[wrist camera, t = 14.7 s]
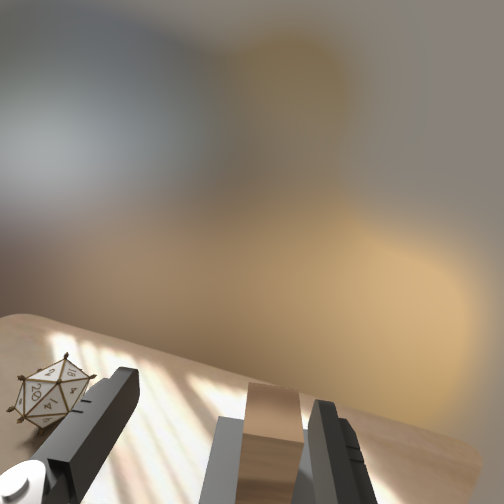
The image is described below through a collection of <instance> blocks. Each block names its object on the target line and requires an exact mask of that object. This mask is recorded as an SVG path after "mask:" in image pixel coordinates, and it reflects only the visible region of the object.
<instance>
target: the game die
mask: <svg viewBox="0 0 504 504" xmlns="http://www.w3.org/2000/svg"><path fill="white" fill-rule="evenodd" d="M68 355H69V354H68V352H67V353H66V354H65V355H64V359H62V360H60V361H58V362H56V363H54V364H52V365H50V366H48V367H46V368H44V369H38V371H37V372H36V373H34V374H32V375H30V376H28V377H26V378H25V377H24V376H23V375H21V376H17V377H18V380H20V381H21V380H23V383H22V386H21V389H20V392H19V395H18V398H17V401H16V404H15V406H14V407H13V406H12V407H9V409H8V410H7V411H6V412H11V411H13V410H14V409H15V410H16V411H17V412H18V413H19V414H20V415H21V416H22V417H21V418H19V419H18V420H17V423H22V421H24V419H26V420H28V421H29V422H31V423H33V424H34V425H36V426H38V427H39V428H41V429H40V431H39V433H38V434H39V436H41V435H42V434H43V433H44V428H45V427H47V426H49V425H51V424H52V423H54V422H56V421H58V420H59V419H61V418H63V417H65V416H67V415H68V414H69V412H71V411H72V409H73V408H74V406H75V405H76V404H77V403H78V402H80V400H81V398H82V397H83V396H84V394H85V391H86V388H87V386H88V383H89V380H90V379H93V378H95V377H96V376H97V375H94V374H93V375H91V376H90V377H89V376H88V375H87V374H85V373H84V372H83V371H82V369H79V368H78V367H76V366H75V365H74V364H73V363H71V362H70V361H69V360H67V357H68ZM17 423H16V424H17Z"/></svg>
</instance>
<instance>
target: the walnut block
mask: <svg viewBox="0 0 504 504" xmlns="http://www.w3.org/2000/svg"><path fill="white" fill-rule="evenodd" d="M303 447H304V435H303V426H302V418H301V409H300V401H299V392H298V389H292V388H285V387H278V386H272V385H265V384H258V383H251V382H249V385H248V393H247V402H246V410H245V418H244V427H243V435H242V444H241V453H240V462H239V471H238V480H237V489H236V498H235V504H290V503H291V499H292V495H293V490H294V486H295V482H296V477H297V473H298V469H299V464H300V460H301V456H302V451H303Z"/></svg>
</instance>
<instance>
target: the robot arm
mask: <svg viewBox="0 0 504 504" xmlns="http://www.w3.org/2000/svg"><path fill="white" fill-rule="evenodd" d="M139 396H140V387H139V372H138V369H133V368H127V367H119V368H118V369H117V370H116V371H115V372H114V374H113V375H112V376H111V378H110V379H108V378H103V379H102V380H100V381H99V382H97V383H96V384H95V385H93V386H92V387H91V388H90V389H89V390H88V391H87V392H86V393H85V395H84V396H83V397H82V398H81V400H80V402H78V403H77V404H76V405H75V406H74V408H73V409H72V411H71V412H69V414H68V415H67V416H66V417H65V418H64V419H63V421H62V422H61V423H60V424H59V425H58V427H57V428H56V429H55V430H54V431H53V432H52V434H51V435H50V436H49V437H48V438H47V440H46V441H45V442H44V443H43V444H42V445H41V447H40V448H39V449H38V450H37V451H36V453H35V454H34V455H33V456H32V457H31V458H30V459H29V460H28V461H25V462H23V463H20V464H18V465H16V466H14V467H12V468H11V469H9V470H8V471H6V472H5V473H4V474H3V475H1V476H0V504H80V503H81V501H82V499H83V498H84V496H85V494H86V493H87V491H88V489H89V487H90V486H91V484H92V482H93V481H94V479H95V477H96V475H97V474H98V472H99V470H100V468H101V467H102V465H103V463H104V462H105V460H106V458H107V456H108V455H109V453H110V451H111V450H112V448H113V446H114V444H115V443H116V441H117V439H118V438H119V436H120V434H121V432H122V431H123V429H124V427H125V426H126V424H127V422H128V420H129V419H130V417H131V415H132V413H133V412H134V410H135V408H136V406H137V403H138V400H139ZM308 444H309V452H310V459H311V467H312V475H313V483H314V490H315V498H316V504H378V503H377V500H376V497H375V494H374V490H373V487H372V484H371V481H370V478H369V475H368V471H367V468H366V465H365V464H364V459H363V455H362V452H361V451H360V446H359V443H358V439H357V436H356V433H355V431H354V430H353V428H352V427H351V425H350V424H349V422H348V421H347V419H343V418H338V415H337V411H336V407H335V404H334V403H333V402H330V401H323V400H317V399H316V400H315V401H314V405H313V408H312V412H311V415H310V419H309V423H308Z"/></svg>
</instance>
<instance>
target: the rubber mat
mask: <svg viewBox="0 0 504 504" xmlns="http://www.w3.org/2000/svg"><path fill="white" fill-rule="evenodd" d="M243 427H244V420H241V419H234V418H228V417H221V416H219V417H218V421H217V426H216V430H215V434H214V439H213V443H212V447H211V452H210V456H209V461H208V465H207V469H206V474H205V478H204V482H203V487H202V491H201V495H200V500H199V504H235V498H236V489H237V480H238V471H239V462H240V453H241V444H242V435H243ZM303 435H304V447H303V451H302V456H301V460H300V464H299V469H298V473H297V477H296V482H295V486H294V490H293V495H292V499H291V503H290V504H316V498H315V490H314V483H313V475H312V467H311V459H310V452H309V444H308V430H305V429H303Z"/></svg>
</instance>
